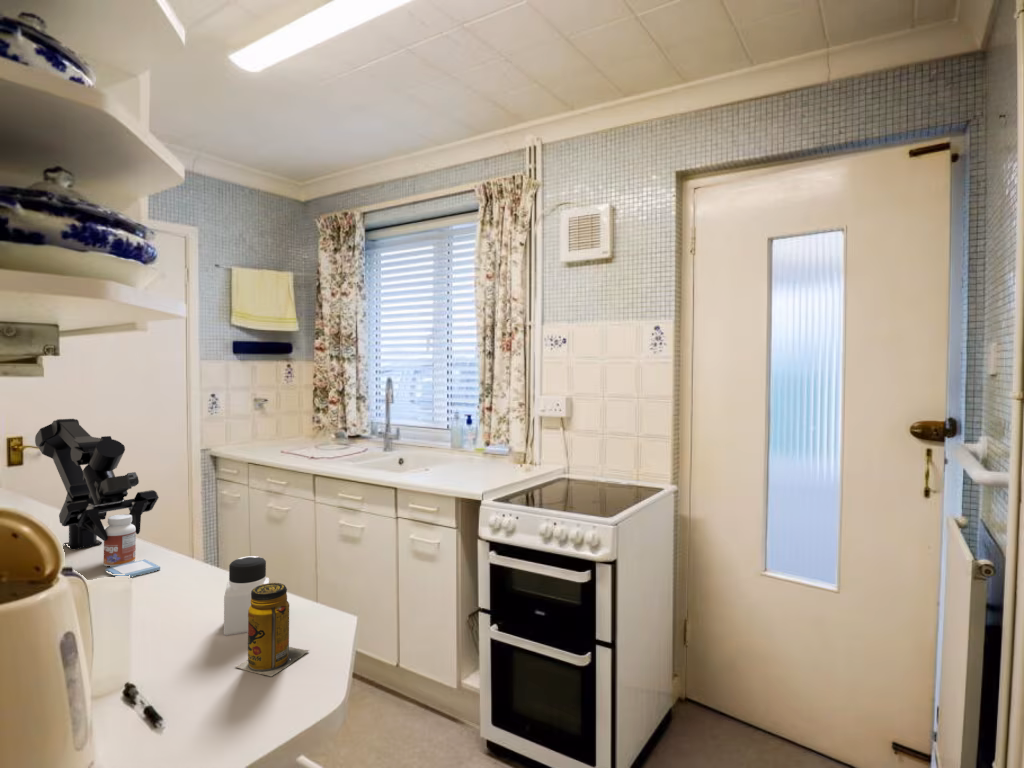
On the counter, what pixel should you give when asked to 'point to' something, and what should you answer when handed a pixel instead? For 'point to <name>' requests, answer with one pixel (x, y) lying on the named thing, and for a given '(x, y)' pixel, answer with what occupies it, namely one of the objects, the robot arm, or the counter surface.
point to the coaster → (134, 568)
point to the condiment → (269, 631)
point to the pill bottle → (120, 541)
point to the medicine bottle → (242, 592)
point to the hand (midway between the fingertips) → (122, 536)
